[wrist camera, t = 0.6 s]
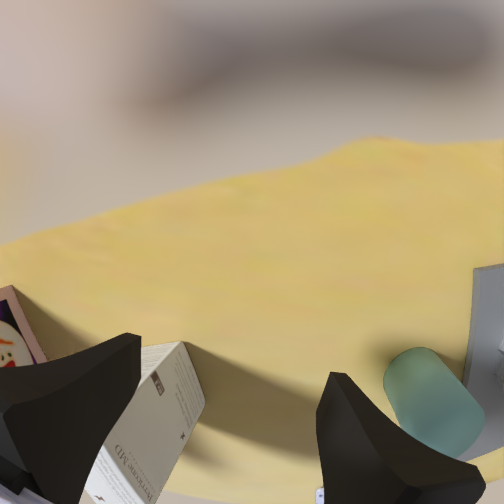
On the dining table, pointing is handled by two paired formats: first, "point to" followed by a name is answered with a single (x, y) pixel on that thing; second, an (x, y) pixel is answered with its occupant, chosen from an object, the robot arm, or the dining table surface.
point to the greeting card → (16, 334)
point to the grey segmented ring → (500, 367)
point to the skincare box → (149, 429)
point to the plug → (432, 402)
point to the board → (486, 357)
